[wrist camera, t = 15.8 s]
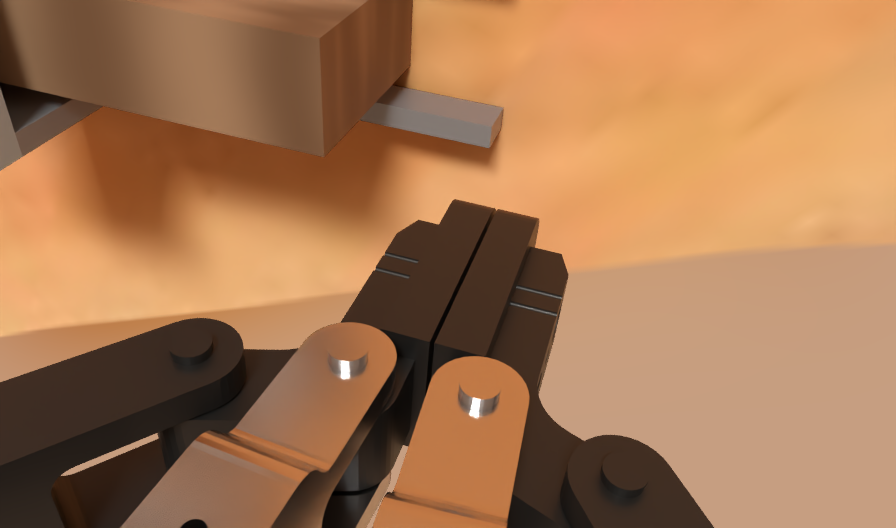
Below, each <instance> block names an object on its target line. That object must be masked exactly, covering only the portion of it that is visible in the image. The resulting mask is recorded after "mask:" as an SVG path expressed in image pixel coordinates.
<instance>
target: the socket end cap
mask: <svg viewBox="0 0 896 528" xmlns="http://www.w3.org/2000/svg"><path fill="white" fill-rule="evenodd" d="M101 107H103V106H101V105H97V104H92V103H88V102H84V101H79V100H75V99H71V98H66V97H62V96H58V95H53V94H49V93H45V92H41V91H36V90H32V89H28V88H23V87H19V86H15V85H10V84H6V83H2V82H0V171H1V170H2V169H4V168H5V167H7V166H9V165H10V164H12V163H13V162H15V161H16V160H18V159H20V158H21V157H23V156H24V155H26V154H28V153H29V152H31V151H32V150H34V149H36V148H37V147H39V146H40V145H42V144H44V143H45V142H47V141H48V140H50V139H52V138H53V137H55V136H56V135H58V134H59V133H61V132H63V131H64V130H66V129H67V128H69V127H71V126H72V125H74V124H75V123H77V122H79V121H80V120H82V119H83V118H85V117H87V116H88V115H90V114H91V113H93V112H95V111H96V110H98V109H99V108H101Z"/></svg>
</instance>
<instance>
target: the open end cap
mask: <svg viewBox="0 0 896 528" xmlns="http://www.w3.org/2000/svg"><path fill="white" fill-rule="evenodd" d="M502 116H503V108H502V107H497V106H492V105H487V104H482V103H477V102H472V101H467V100H463V99H458V98H453V97H448V96H443V95H438V94H433V93H428V92H423V91H418V90H414V89H409V88H404V87H399V86H394V85H392V86H391V87H390V88H389V89H388V90H387V91H386V92H385V93H384V94H383V95H382V96H381V97H380V98H379V99H378V100H377V102H376V103H375V104H374V105H373V106H372V107H371V108H370V109H369V110H368V111H367V112H366V113H365V114H364V115H363V116H362V118H361V119H360V120H361V121H366V122H370V123H375V124H380V125H384V126H389V127H393V128H398V129H403V130H407V131H412V132H417V133H421V134H426V135H430V136H435V137H440V138H444V139H449V140H453V141H458V142H463V143H467V144H472V145H477V146H481V147H486V148H490V146H491V145H492V143H493V141H494V140H495V138H496V136H497V135H498V133H499V131H500V130H501V125H502Z"/></svg>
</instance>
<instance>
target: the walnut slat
mask: <svg viewBox="0 0 896 528" xmlns="http://www.w3.org/2000/svg"><path fill="white" fill-rule="evenodd" d="M412 7H413V0H0V82H2V83H6V84H10V85H15V86H19V87H23V88H28V89H32V90H36V91H41V92H45V93H49V94H53V95H58V96H62V97H66V98H71V99H75V100H79V101H84V102H88V103H92V104H97V105H101V106H105V107H109V108H114V109H118V110H122V111H127V112H131V113H135V114H140V115H144V116H148V117H153V118H157V119H161V120H165V121H170V122H174V123H178V124H183V125H187V126H191V127H196V128H200V129H204V130H209V131H213V132H217V133H222V134H226V135H230V136H234V137H239V138H243V139H247V140H252V141H256V142H260V143H265V144H269V145H273V146H278V147H282V148H286V149H290V150H295V151H299V152H303V153H308V154H312V155H316V156H321V157H325V156H326V155H327V154H328V153H329V152H330V151H331V149H332V148H333V147H334V146H335V145H336V144H337V143H338V142H339V141H340V140H341V139H342V138H343V137H344V136H345V135H346V133H347V132H348V131H349V130H350V129H351V128H352V127H353V126H354V125H355V124H356V123H357V122H358V121H359V120H360V119H361V118H362V116H363V115H364V114H365V113H366V112H367V111H368V110H369V109H370V108H371V107H372V106H373V105H374V104H375V103H376V102H377V100H378V99H379V98H380V97H381V96H382V95H383V94H384V93H385V92H386V91H387V90H388V89H389V88H390V87H391V86H392V84H393V83H394V82H395V81H396V80H397V79H398V78H399V77H400V76H401V75H402V74H403V73H404V72H405V71H406V70H407V69H408V67H409V66H410V61H411V34H412Z"/></svg>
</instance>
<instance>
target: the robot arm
mask: <svg viewBox="0 0 896 528" xmlns="http://www.w3.org/2000/svg"><path fill="white" fill-rule="evenodd" d="M538 227H539V219H538V218H534V217H530V216H525V215H521V214H517V213H513V212H508V211H504V210H500V209H498V210H497V211H496V210H495V208H490V207H486V206H482V205H478V204H473V203H469V202H465V201H460V200H456V199H454V200H453V201H452V203H451V204H450V206H449V208H448V210H447V211H446V213H445V215H444V217H443V219H442V220H441V222H440V224H439V225H438V224H433V223H429V222H425V221H421V220H418V221H416V222H415V223H413V224H411V225H410V226H408V227H407V228H405V229H403V230H402V231H400V232H399V233H397V234H396V236H395V237H394V239H393V241H392V242H391V244H390V245H389V247H388V249H387V250H386V252H385V256H382V258H381V260H380V261H379V263H378V264H377V266H376V269H375V271H373V272H372V274H371V275H370V277H369V278H368V280H367V282H366V283H365V285H364V286H363V288H362V290H361V291H360V293H359V294H358V296H357V297H356V299H355V301H354V302H353V304H352V305H351V307H350V308H349V310H348V312H347V313H346V315H345V316H344V318H343V319H342V321H341V323H336V324H333V325H328V326H326V327H323V328H321V329H319V330H317V331H315V332H314V333H313V334H311V335H310V336H309V337H308V338H307V339H306V340H305V341H304V342H303V344H302V345H301V346H300V347H299V348H297V349H290V350H254V349H253V350H252V349H251V350H250V349H244V348H243V342H242V339H241V337H240V335H239V333H237V331H236V330H235V329H234V328H233V327H231V326H230V325H228V324H226V323H224V322H221V321H217V320H213V319H206V318H195V319H187V320H182V321H179V322H175V323H172V324H169V325H166V326H163V327H160V328H158V329H154V330H152V331H149V332H146V333H143V334H140V335H137V336H134V337H131V338H128V339H126V340H122V341H120V342H117V343H114V344H111V345H108V346H105V347H102V348H99V349H97V350H94V351H91V352H88V353H85V354H82V355H79V356H76V357H73V358H70V359H67V360H64V361H61V362H59V363H56V364H53V365H50V366H47V367H44V368H41V369H38V370H35V371H32V372H29V373H27V374H23V375H21V376H18V377H15V378H12V379H9V380H6V381H3V382H0V528H366V527H367V525H368V523H369V522H370V520H371V518H372V516H373V514H374V512H375V511H376V509H377V507H378V505H379V503H380V502H381V500H382V498H383V496H384V494H385V492H386V490H387V488H388V486H389V484H390V479H391V470H392V468H393V466H394V464H395V462H396V459H397V457H398V455H399V453H400V450H401V448H402V446H403V445H405V446H408V450H407V453H406V456H405V459H404V462H403V465H402V468H401V471H400V474H399V477H398V480H397V483H396V486H395V488H394V490H393V492H392V493H391V492H387V494H386V495H385V496H384V498H383V500H382V503H381V505H380V507H379V510H378V513H377V516H376V519H375V521H374V524H373V527H372V528H714V527H713V525H712V524H711V523H710V521H709V520H708V519H707V517H706V516H705V515H704V513H703V512H702V511H701V509H700V507H699V506H698V505H697V503H696V502H695V500H694V499H693V498H692V496H691V495H690V493H689V492H688V491H687V489H686V488H685V487H684V485H683V484H682V482H681V481H680V480H679V478H678V477H677V475H676V474H675V473H674V471H673V470H672V468H671V467H670V466H669V464H668V463H667V462H666V461H665V460H664V458H663V457H662V456H660V455H659V454H658V453H657V452H656V451H654V450H653V449H652V448H650V447H649V446H647V445H645V444H643V443H641V442H639V441H637V440H634V439H632V438H628V437H623V436H618V435H602V436H597V437H593V438H591V439H588V440H586V441H583V440H581V439H580V438H578V437H576V436H575V435H573V434H571V433H569V432H568V431H566V430H565V429H564V428H562V427H561V426H559V425H558V424H557V423H556V422H555V421H554V420H553V419H552V418H551V417H550V416H549V415H548V414H547V412H546V411H545V409H544V408H543V406H542V404H541V401H540V399H539V395H538V394H539V391H540V387H541V384H542V380H543V377H544V373H545V370H546V366H547V362H548V359H549V356H550V351H551V348H552V345H553V341H554V337H555V333H556V328H557V324H558V319H559V315H560V310H561V306H562V301H563V297H564V293H565V288H566V284H567V280H568V272H567V269H566V266H565V263H564V260H563V257H562V254H559V253H555V252H551V251H546V250H542V249H538V248H535V244H536V238H537V233H538ZM155 433H158V437H159V439H157V440H155V441H152V442H150V443H147V444H145V445H142V446H140V447H138V448H135V449H133V450H130V451H128V452H126V453H123V454H121V455H118V456H116V457H114V458H111V459H109V460H106V461H104V462H102V463H99V464H97V465H94V466H92V467H89V468H87V469H85V470H82V471H80V472H77V473H75V474H72V475H68V476H61V474H63V473H64V472H66V471H67V470H69V469H71V468H73V467H75V466H77V465H80V464H82V463H85V462H87V461H89V460H92V459H94V458H97V457H99V456H101V455H104V454H106V453H109V452H111V451H114V450H116V449H119V448H121V447H124V446H126V445H129V444H131V443H133V442H136V441H138V440H140V439H143V438H146V437H148V436H150V435H153V434H155Z"/></svg>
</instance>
